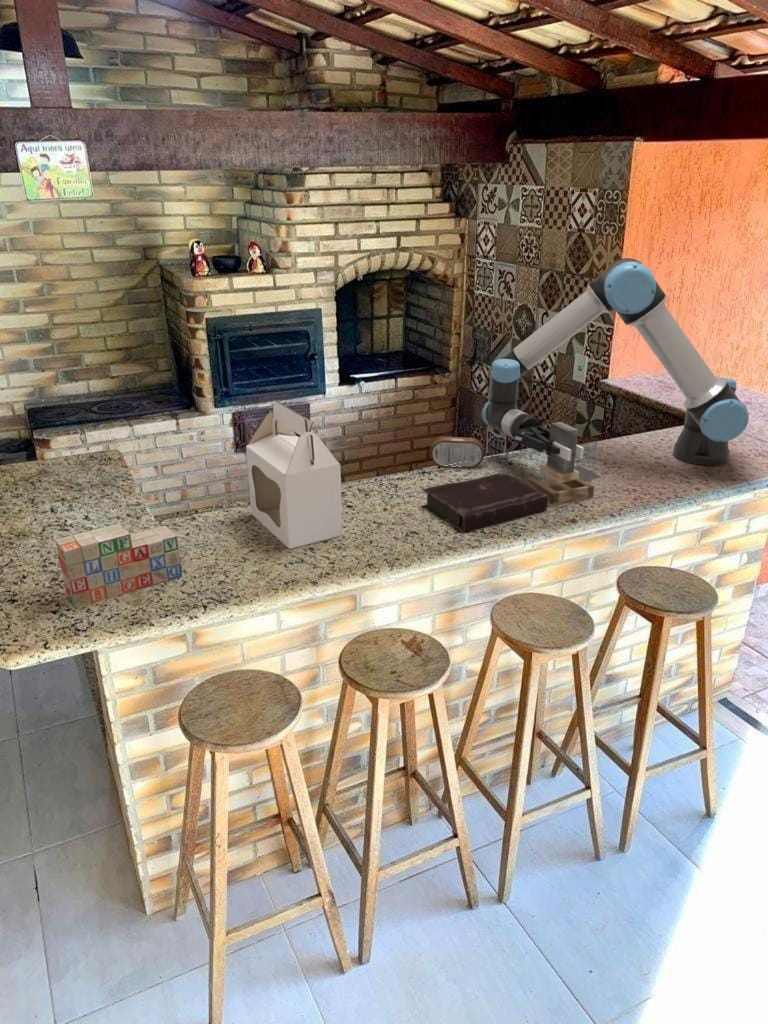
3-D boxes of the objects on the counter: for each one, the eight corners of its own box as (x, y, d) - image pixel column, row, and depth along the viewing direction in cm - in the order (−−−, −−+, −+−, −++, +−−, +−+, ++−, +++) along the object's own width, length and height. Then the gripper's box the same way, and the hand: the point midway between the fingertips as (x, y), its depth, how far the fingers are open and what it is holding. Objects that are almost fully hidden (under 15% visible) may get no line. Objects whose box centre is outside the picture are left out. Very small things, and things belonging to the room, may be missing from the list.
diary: (547, 513, 185) (549, 494, 183) (464, 536, 173) (465, 516, 171) (499, 487, 199) (501, 469, 197) (419, 506, 188) (420, 487, 186)
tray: (563, 482, 201) (565, 470, 200) (592, 498, 191) (594, 486, 190) (525, 489, 197) (526, 477, 195) (552, 506, 187) (553, 494, 185)
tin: (483, 465, 213) (485, 437, 209) (483, 469, 210) (485, 440, 206) (429, 463, 214) (430, 435, 211) (429, 467, 211) (430, 439, 208)
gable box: (343, 536, 172) (340, 416, 160) (289, 550, 165) (282, 426, 154) (300, 502, 189) (295, 392, 177) (250, 514, 183) (241, 400, 171)
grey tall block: (559, 468, 196) (564, 420, 191) (578, 479, 190) (584, 429, 184) (539, 472, 194) (544, 423, 189) (558, 483, 188) (564, 432, 182)
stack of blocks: (171, 565, 159) (164, 511, 154) (183, 577, 154) (176, 522, 149) (65, 595, 148) (54, 538, 143) (74, 609, 143) (63, 550, 138)
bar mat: (578, 466, 212) (578, 465, 212) (601, 478, 204) (601, 477, 203) (548, 471, 208) (548, 470, 208) (571, 484, 200) (571, 482, 200)
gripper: (545, 436, 208) (600, 464, 189) (495, 444, 202) (547, 473, 183) (547, 410, 205) (604, 435, 186) (497, 416, 199) (550, 443, 180)
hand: (575, 454), depth 184 cm, fingers closed on grey tall block, 3 cm apart
